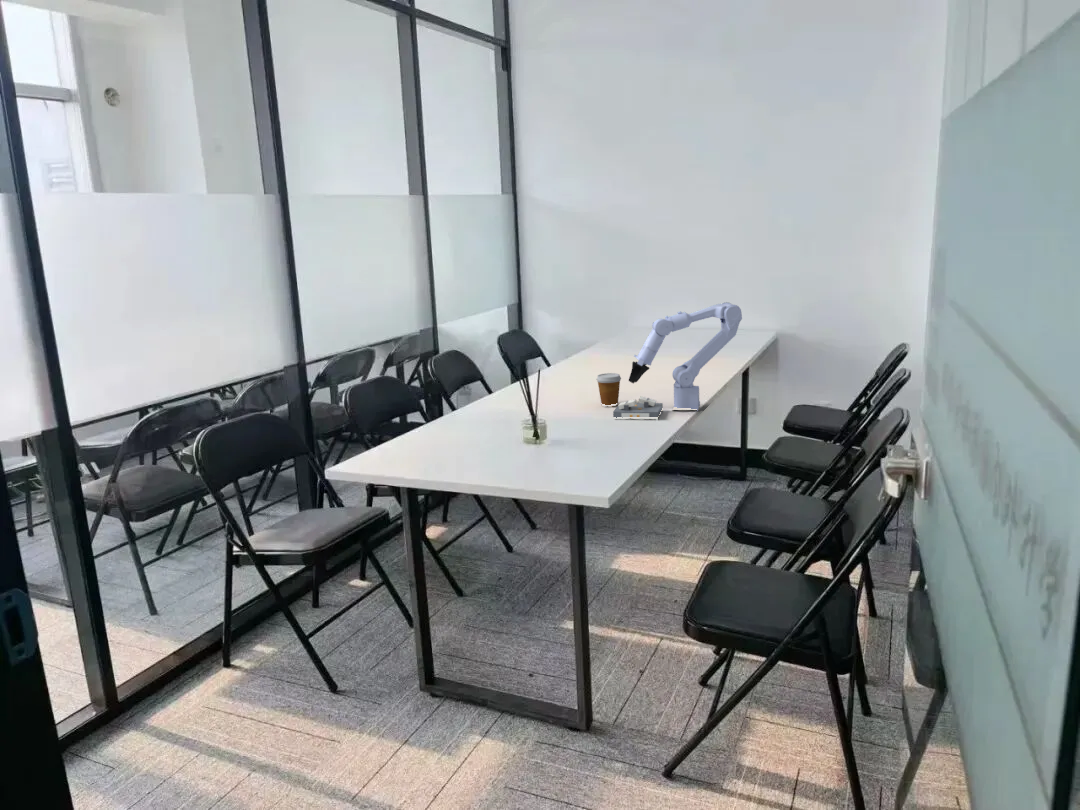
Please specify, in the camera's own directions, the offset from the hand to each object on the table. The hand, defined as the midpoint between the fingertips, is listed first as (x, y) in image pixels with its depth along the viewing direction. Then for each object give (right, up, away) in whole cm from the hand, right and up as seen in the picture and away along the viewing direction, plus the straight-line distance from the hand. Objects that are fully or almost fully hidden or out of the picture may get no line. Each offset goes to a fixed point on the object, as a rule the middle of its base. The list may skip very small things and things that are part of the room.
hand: (632, 381), depth 291 cm
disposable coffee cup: (-7, -9, +16) cm, 20 cm away
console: (+2, -12, -2) cm, 13 cm away
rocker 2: (+5, -7, -1) cm, 9 cm away
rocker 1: (-2, -8, -4) cm, 10 cm away
